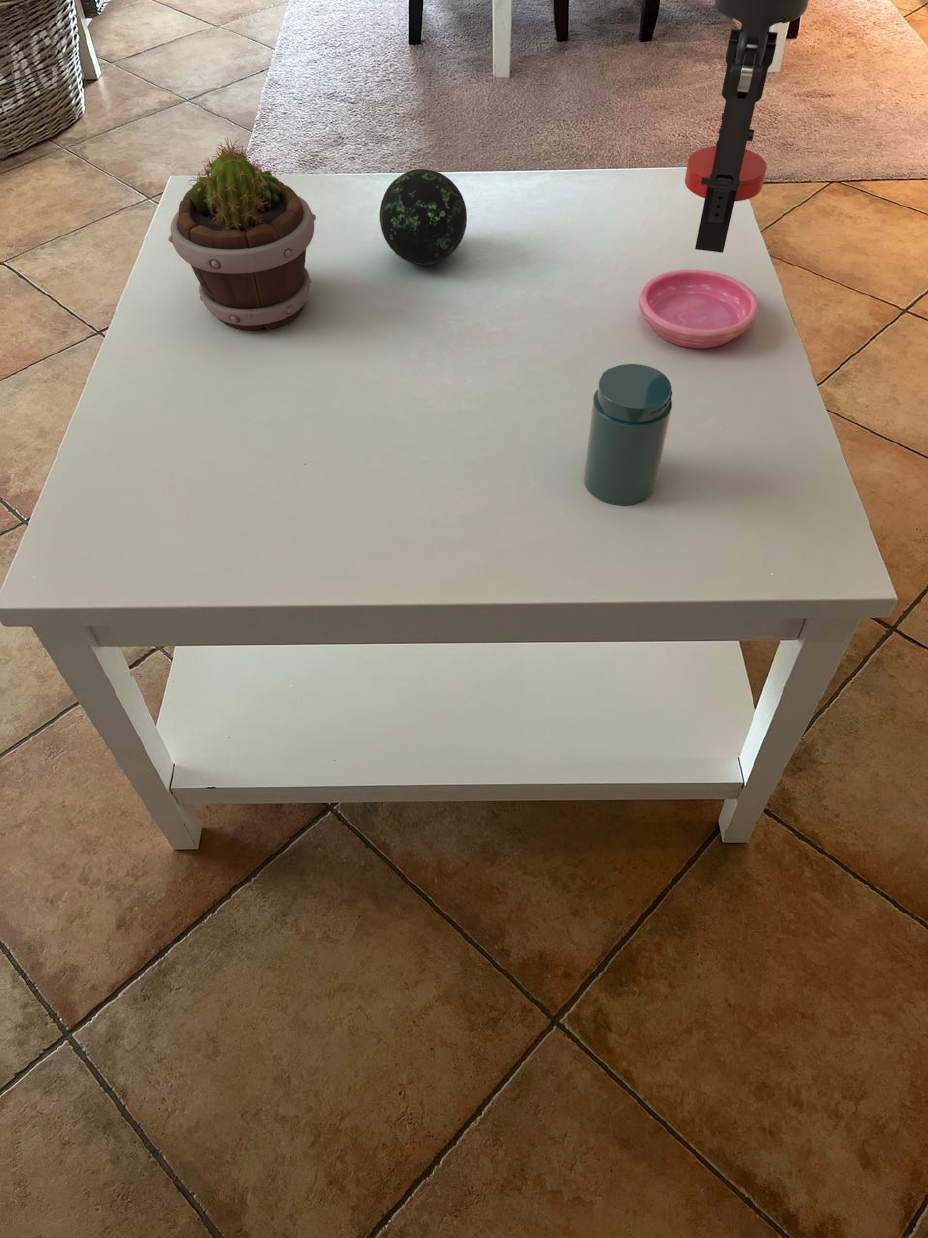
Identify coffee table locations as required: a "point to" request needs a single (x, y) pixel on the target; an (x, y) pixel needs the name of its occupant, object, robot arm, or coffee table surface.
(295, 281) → the flowerpot
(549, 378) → the coffee table surface
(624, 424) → the lidded canister
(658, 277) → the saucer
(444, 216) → the decorative stone
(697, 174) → the jam lid
